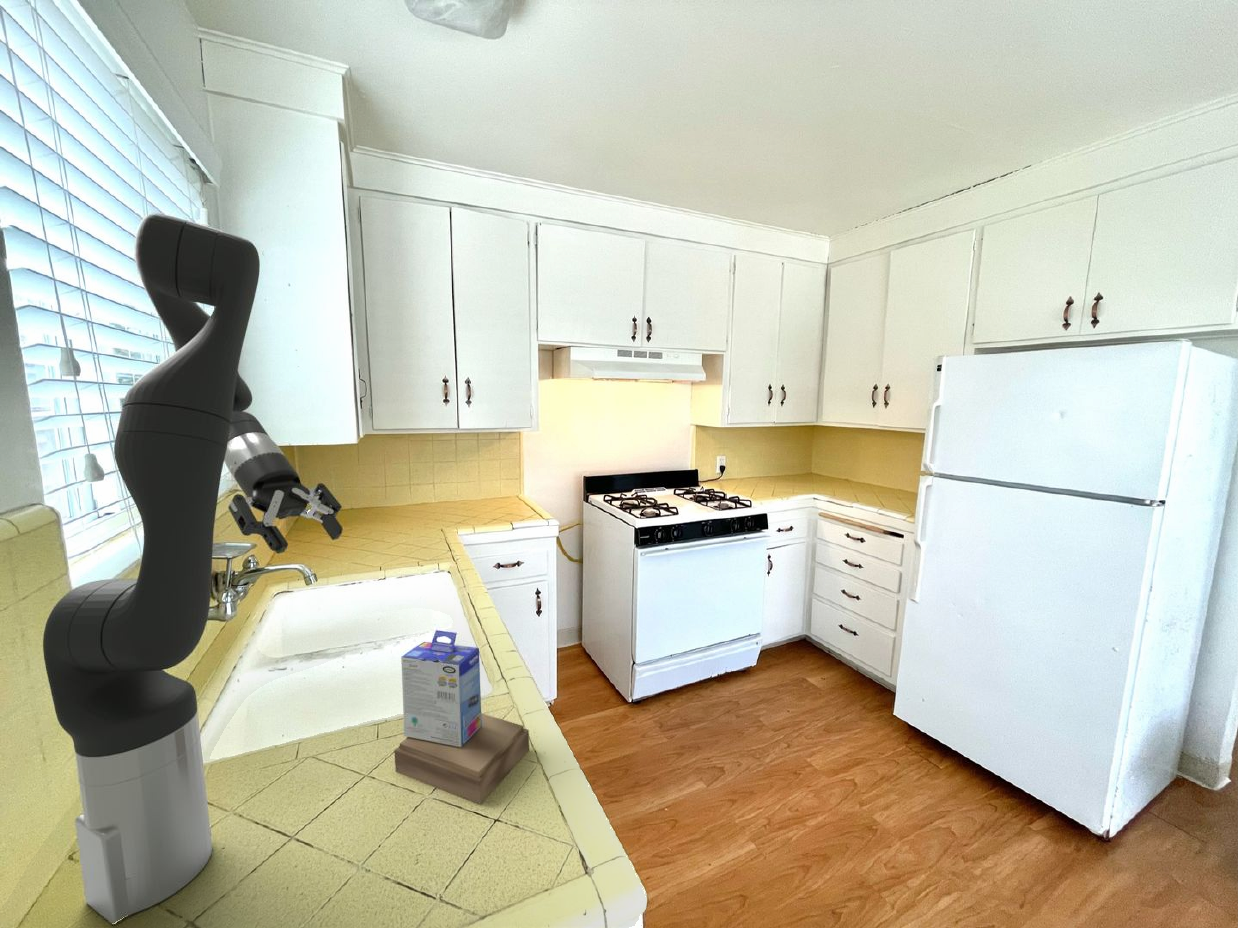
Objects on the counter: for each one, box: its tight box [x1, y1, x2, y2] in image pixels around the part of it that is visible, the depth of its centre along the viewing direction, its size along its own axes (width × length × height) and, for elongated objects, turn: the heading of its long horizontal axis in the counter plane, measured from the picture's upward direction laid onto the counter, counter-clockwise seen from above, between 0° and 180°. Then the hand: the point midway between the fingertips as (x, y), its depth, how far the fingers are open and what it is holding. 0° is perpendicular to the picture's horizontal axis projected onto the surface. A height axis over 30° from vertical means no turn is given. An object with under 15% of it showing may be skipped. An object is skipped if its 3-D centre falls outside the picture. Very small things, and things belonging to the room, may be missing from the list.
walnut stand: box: [393, 712, 530, 805], centre depth 69 cm, size 11×15×4 cm
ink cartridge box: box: [400, 629, 482, 747], centre depth 69 cm, size 10×6×14 cm, turn 75°
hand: (312, 542), depth 74 cm, fingers open, 8 cm apart
